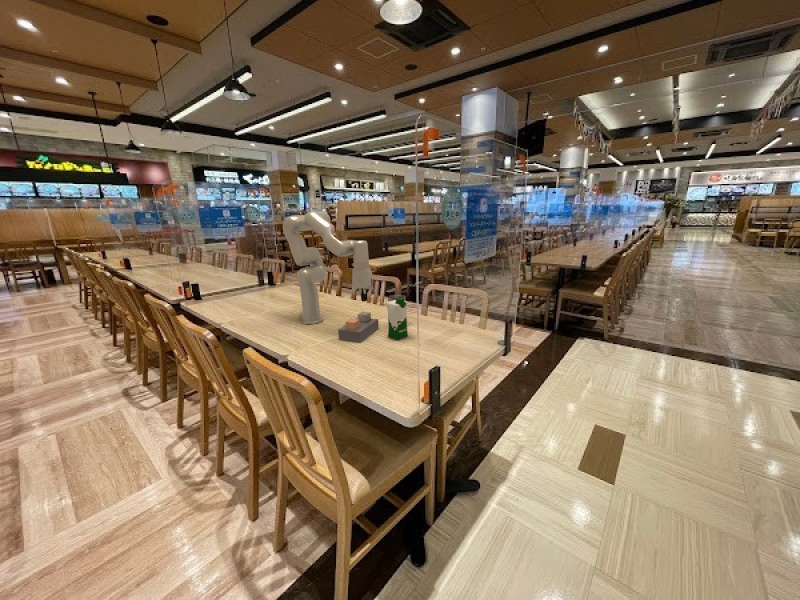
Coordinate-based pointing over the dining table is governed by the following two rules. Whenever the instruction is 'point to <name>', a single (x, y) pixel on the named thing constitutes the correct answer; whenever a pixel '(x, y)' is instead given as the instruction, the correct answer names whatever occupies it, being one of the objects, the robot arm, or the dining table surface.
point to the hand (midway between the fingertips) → (364, 300)
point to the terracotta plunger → (352, 324)
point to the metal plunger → (364, 317)
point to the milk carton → (397, 318)
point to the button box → (359, 331)
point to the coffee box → (393, 297)
